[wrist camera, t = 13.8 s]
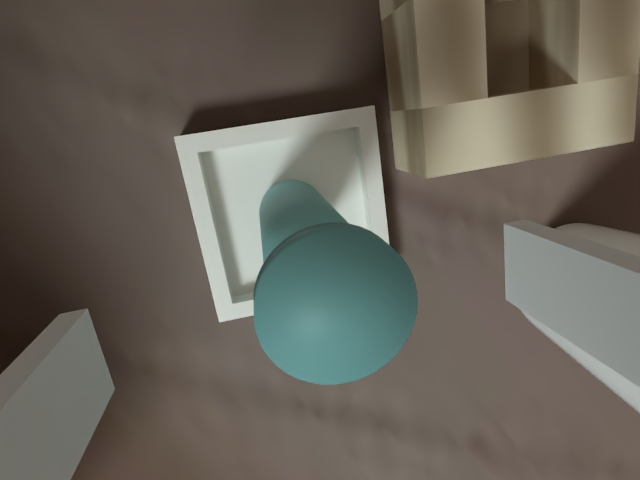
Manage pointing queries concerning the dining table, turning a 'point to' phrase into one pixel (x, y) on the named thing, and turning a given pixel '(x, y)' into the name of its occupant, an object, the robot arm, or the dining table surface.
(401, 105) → the beige socket block
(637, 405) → the candle holder
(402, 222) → the dining table surface
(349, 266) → the plug
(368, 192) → the tray
